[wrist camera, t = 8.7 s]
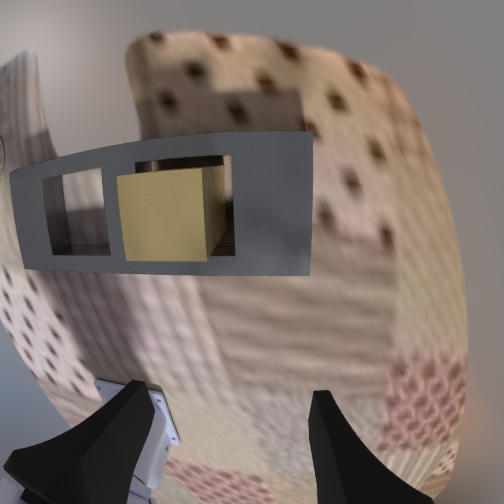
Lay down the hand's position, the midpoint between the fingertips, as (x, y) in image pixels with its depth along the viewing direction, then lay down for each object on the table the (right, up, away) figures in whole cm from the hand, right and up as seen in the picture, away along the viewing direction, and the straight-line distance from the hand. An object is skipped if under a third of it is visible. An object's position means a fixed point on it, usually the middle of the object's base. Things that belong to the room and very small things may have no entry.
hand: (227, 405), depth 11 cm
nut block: (-3, +10, +7) cm, 12 cm away
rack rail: (-7, +10, +7) cm, 14 cm away
